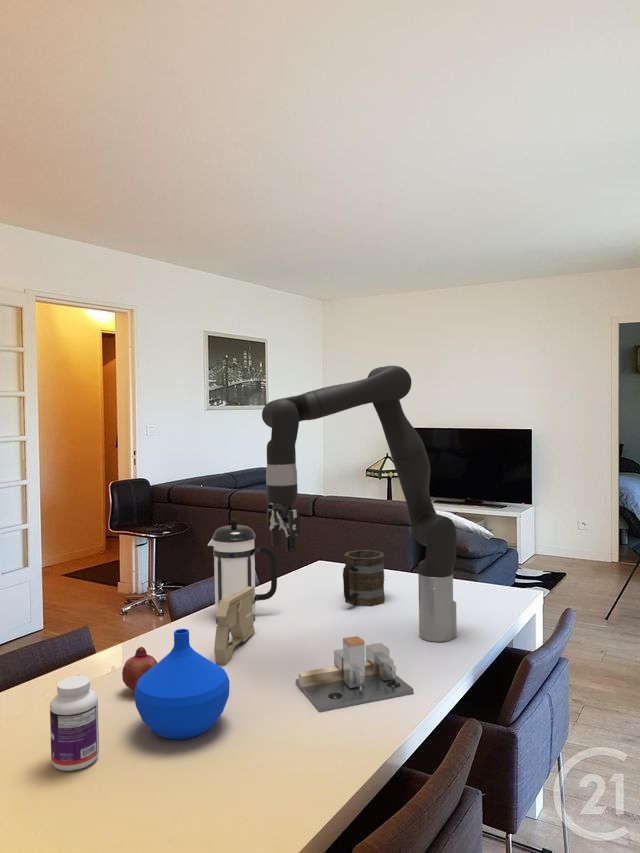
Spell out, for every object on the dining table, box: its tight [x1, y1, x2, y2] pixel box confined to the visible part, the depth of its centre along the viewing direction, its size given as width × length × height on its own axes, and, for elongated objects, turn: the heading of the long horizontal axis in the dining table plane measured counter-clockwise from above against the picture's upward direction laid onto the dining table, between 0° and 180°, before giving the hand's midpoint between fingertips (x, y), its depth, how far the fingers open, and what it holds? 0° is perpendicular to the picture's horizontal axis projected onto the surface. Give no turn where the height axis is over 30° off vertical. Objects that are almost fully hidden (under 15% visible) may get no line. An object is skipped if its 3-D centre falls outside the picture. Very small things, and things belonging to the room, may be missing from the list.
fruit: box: [121, 646, 158, 691], centre depth 145 cm, size 8×8×10 cm
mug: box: [342, 549, 386, 607], centre depth 208 cm, size 20×14×15 cm
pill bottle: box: [49, 675, 100, 772], centre depth 116 cm, size 8×8×14 cm
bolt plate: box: [295, 674, 414, 713], centre depth 145 cm, size 22×15×1 cm
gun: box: [213, 586, 256, 666], centre depth 171 cm, size 24×3×15 cm, turn 168°
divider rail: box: [298, 660, 379, 687], centre depth 149 cm, size 22×2×2 cm, turn 111°
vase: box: [133, 628, 230, 741], centre depth 128 cm, size 18×18×19 cm
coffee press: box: [207, 517, 278, 624], centre depth 196 cm, size 17×16×30 cm
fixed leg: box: [365, 642, 397, 684], centre depth 149 cm, size 4×11×5 cm, turn 21°
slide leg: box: [333, 635, 366, 690], centre depth 146 cm, size 4×11×10 cm, turn 21°
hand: (283, 548), depth 158 cm, fingers open, 8 cm apart
